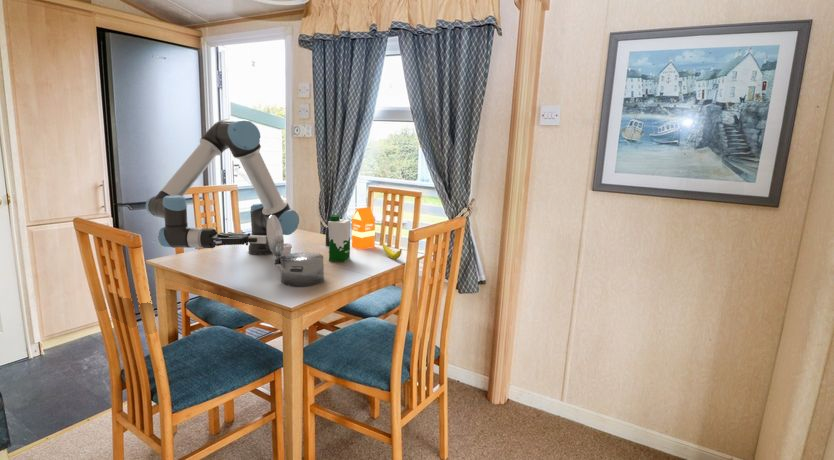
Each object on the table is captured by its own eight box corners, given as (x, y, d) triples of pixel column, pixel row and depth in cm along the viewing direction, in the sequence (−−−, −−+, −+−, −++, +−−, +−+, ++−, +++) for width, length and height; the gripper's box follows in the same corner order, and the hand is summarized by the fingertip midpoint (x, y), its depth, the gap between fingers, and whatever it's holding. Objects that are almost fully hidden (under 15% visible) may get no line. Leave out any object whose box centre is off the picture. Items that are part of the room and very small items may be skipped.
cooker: (328, 272, 186) (327, 251, 184) (318, 289, 166) (317, 265, 164) (284, 271, 185) (283, 250, 184) (269, 288, 165) (268, 264, 163)
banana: (385, 252, 220) (385, 240, 218) (404, 262, 204) (404, 249, 202) (379, 253, 218) (379, 240, 217) (398, 263, 202) (398, 249, 201)
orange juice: (374, 246, 231) (375, 207, 227) (361, 249, 225) (361, 209, 221) (364, 243, 236) (365, 206, 232) (351, 246, 230) (351, 207, 226)
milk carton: (333, 256, 211) (333, 214, 207) (352, 258, 209) (352, 215, 205) (326, 261, 202) (325, 217, 198) (345, 263, 200) (345, 218, 196)
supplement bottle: (327, 246, 228) (327, 223, 225) (324, 243, 234) (323, 221, 231) (341, 245, 231) (340, 222, 228) (336, 242, 237) (336, 220, 234)
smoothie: (278, 265, 194) (277, 233, 191) (293, 265, 195) (292, 233, 192) (275, 269, 188) (273, 236, 185) (290, 269, 188) (289, 236, 186)
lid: (278, 211, 178) (273, 212, 178) (265, 219, 162) (260, 220, 162) (286, 250, 181) (281, 251, 181) (275, 261, 166) (269, 262, 166)
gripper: (211, 243, 178) (272, 245, 178) (196, 252, 165) (261, 253, 166) (210, 225, 176) (271, 226, 177) (194, 232, 164) (260, 233, 164)
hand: (266, 239), depth 171 cm, fingers closed
